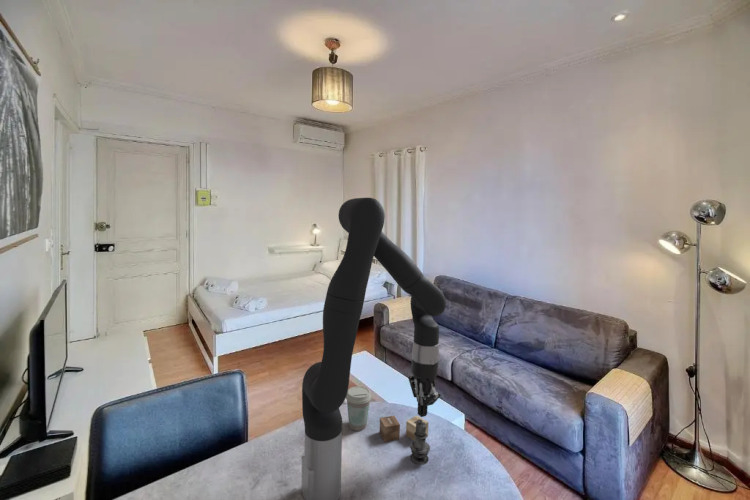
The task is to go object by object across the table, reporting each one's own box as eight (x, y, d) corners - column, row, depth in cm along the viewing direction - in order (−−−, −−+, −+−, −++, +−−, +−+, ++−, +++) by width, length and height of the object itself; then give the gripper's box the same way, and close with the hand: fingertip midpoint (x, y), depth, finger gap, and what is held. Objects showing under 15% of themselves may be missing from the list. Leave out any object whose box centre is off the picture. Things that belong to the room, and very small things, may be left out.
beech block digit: (417, 443, 107) (418, 428, 106) (405, 435, 111) (406, 420, 110) (427, 436, 110) (428, 421, 110) (416, 429, 114) (416, 414, 114)
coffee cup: (341, 430, 112) (341, 395, 111) (350, 416, 120) (351, 383, 119) (365, 435, 110) (366, 400, 108) (373, 421, 118) (374, 387, 117)
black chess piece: (429, 467, 97) (431, 427, 96) (408, 463, 98) (410, 423, 97) (430, 453, 103) (431, 415, 101) (410, 449, 104) (412, 412, 103)
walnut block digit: (384, 441, 107) (385, 426, 107) (379, 432, 112) (379, 417, 111) (399, 439, 109) (399, 424, 108) (393, 429, 113) (394, 415, 113)
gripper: (401, 351, 101) (399, 406, 103) (428, 369, 90) (425, 431, 91) (422, 347, 105) (419, 401, 107) (450, 364, 93) (447, 424, 95)
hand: (422, 415), depth 99 cm, fingers closed
